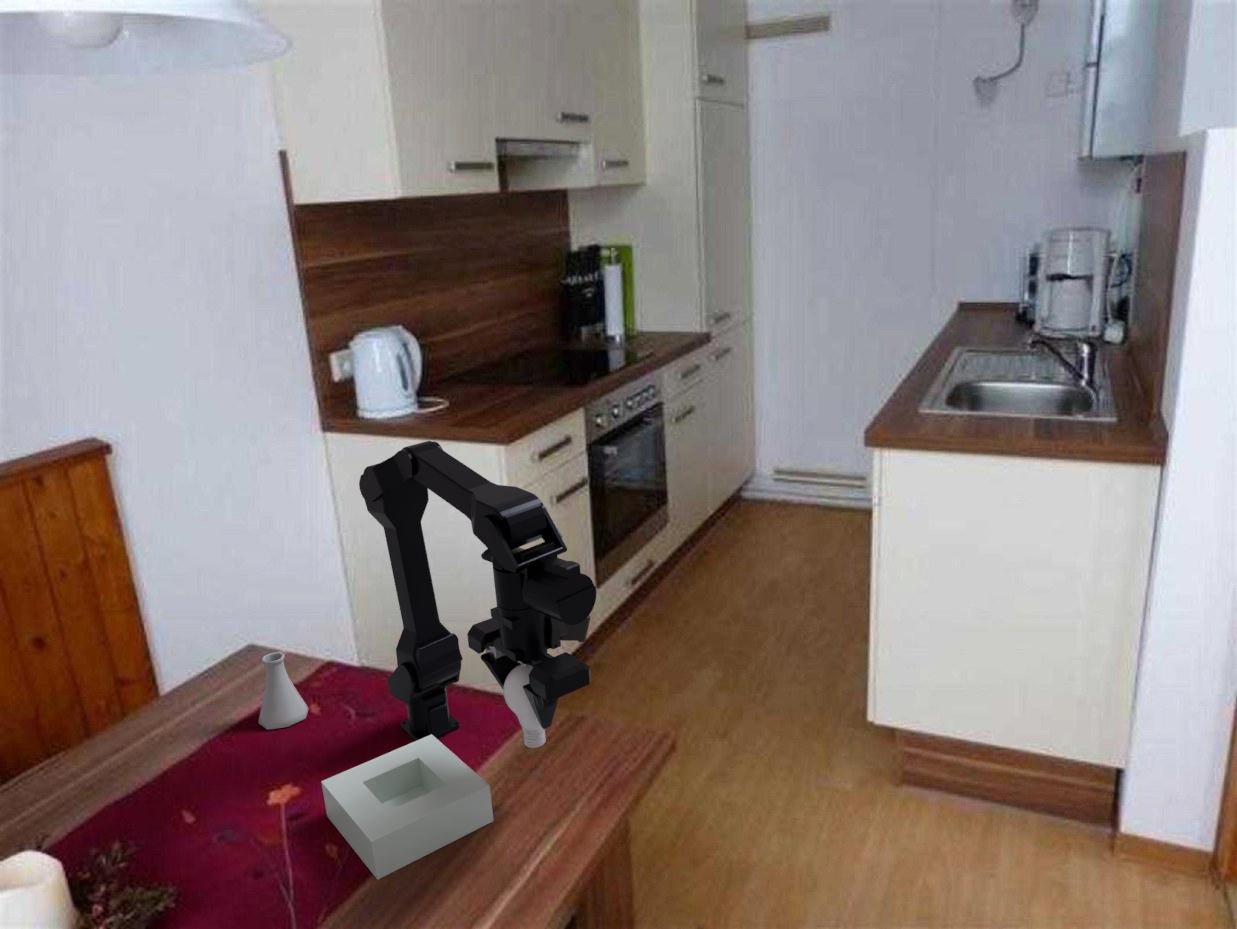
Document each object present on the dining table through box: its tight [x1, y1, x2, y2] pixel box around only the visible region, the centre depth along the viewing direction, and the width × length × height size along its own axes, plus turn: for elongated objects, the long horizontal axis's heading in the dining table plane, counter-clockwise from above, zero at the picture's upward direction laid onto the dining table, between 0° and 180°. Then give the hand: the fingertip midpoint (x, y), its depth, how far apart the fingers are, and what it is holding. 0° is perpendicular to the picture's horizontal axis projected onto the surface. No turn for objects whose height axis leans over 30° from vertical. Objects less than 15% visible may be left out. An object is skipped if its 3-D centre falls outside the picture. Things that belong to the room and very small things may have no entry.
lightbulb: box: [502, 664, 547, 749], centre depth 114 cm, size 6×6×11 cm
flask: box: [258, 651, 309, 731], centre depth 138 cm, size 7×7×10 cm
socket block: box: [320, 734, 494, 881], centre depth 114 cm, size 15×15×5 cm
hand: (532, 717), depth 115 cm, fingers closed on lightbulb, 6 cm apart
